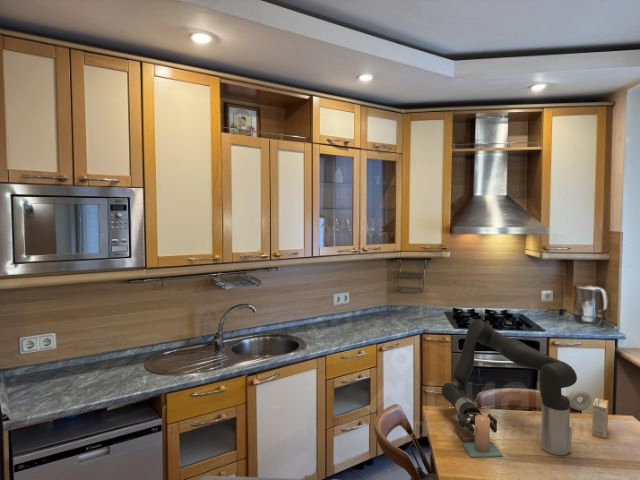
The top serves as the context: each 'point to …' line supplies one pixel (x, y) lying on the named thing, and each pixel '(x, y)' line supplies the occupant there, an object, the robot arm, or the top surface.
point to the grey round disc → (585, 401)
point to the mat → (474, 453)
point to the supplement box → (600, 418)
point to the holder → (463, 439)
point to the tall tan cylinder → (482, 433)
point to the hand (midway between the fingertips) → (484, 430)
